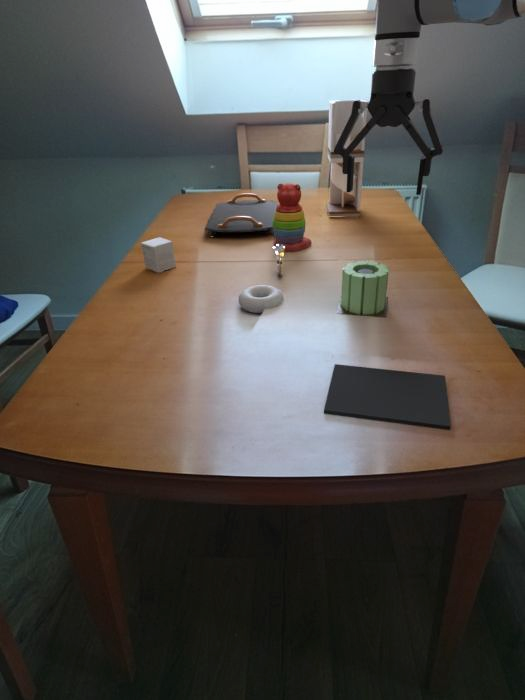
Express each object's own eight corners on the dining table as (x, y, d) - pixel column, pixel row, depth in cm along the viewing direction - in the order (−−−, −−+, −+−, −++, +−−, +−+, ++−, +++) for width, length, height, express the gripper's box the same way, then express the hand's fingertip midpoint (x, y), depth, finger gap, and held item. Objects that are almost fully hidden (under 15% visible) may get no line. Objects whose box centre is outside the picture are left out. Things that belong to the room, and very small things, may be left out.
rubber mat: (444, 378, 77) (445, 375, 76) (450, 429, 66) (451, 426, 66) (334, 366, 81) (334, 364, 81) (323, 413, 70) (323, 410, 70)
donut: (270, 293, 109) (231, 302, 105) (270, 279, 107) (230, 288, 103) (292, 309, 101) (250, 319, 97) (292, 294, 99) (250, 304, 96)
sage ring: (385, 297, 101) (389, 262, 96) (384, 316, 93) (387, 279, 89) (343, 294, 103) (345, 259, 99) (338, 312, 95) (340, 276, 91)
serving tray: (277, 238, 143) (276, 218, 140) (202, 240, 145) (200, 220, 141) (278, 206, 176) (277, 189, 173) (217, 208, 178) (216, 192, 174)
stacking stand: (387, 302, 102) (391, 263, 97) (385, 324, 93) (390, 282, 89) (341, 299, 104) (343, 261, 99) (335, 320, 96) (337, 279, 91)
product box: (145, 268, 126) (140, 242, 122) (163, 262, 130) (159, 236, 126) (157, 274, 122) (153, 247, 118) (176, 267, 126) (172, 240, 122)
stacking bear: (313, 242, 138) (313, 180, 129) (301, 254, 131) (301, 188, 121) (279, 239, 142) (278, 178, 133) (266, 250, 135) (263, 186, 125)
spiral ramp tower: (326, 209, 170) (329, 101, 152) (355, 208, 170) (362, 99, 152) (328, 217, 161) (332, 103, 142) (359, 216, 160) (367, 101, 142)
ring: (285, 280, 115) (284, 249, 111) (272, 280, 115) (271, 249, 111) (286, 269, 121) (285, 239, 117) (274, 270, 121) (273, 240, 117)
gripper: (320, 72, 83) (318, 193, 94) (470, 65, 75) (448, 199, 86) (330, 71, 89) (327, 185, 100) (470, 64, 81) (450, 190, 92)
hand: (383, 192), depth 93 cm, fingers open, 13 cm apart
